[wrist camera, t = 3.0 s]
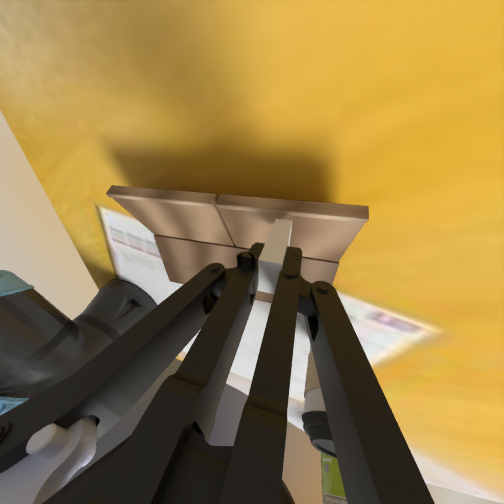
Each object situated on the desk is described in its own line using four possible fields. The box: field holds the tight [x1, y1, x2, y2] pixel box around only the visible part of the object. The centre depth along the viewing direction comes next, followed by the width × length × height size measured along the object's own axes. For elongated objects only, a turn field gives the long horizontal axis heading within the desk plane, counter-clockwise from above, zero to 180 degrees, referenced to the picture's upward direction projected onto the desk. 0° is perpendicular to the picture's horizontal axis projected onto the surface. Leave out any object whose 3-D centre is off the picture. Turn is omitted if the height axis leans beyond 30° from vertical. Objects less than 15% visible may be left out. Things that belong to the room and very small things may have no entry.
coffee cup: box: [302, 346, 337, 459], centre depth 27 cm, size 9×9×15 cm
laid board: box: [154, 234, 339, 303], centre depth 29 cm, size 28×10×1 cm, turn 91°
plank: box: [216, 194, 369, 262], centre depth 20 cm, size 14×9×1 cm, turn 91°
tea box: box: [321, 452, 347, 504], centre depth 49 cm, size 15×10×15 cm, turn 142°
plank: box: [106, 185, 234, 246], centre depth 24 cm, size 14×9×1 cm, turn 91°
